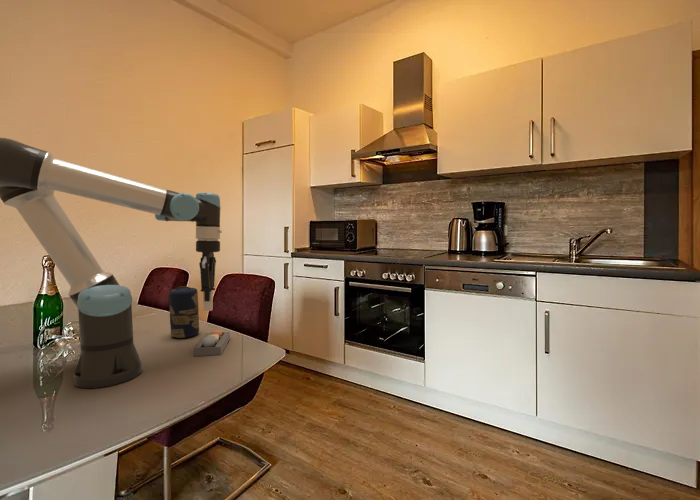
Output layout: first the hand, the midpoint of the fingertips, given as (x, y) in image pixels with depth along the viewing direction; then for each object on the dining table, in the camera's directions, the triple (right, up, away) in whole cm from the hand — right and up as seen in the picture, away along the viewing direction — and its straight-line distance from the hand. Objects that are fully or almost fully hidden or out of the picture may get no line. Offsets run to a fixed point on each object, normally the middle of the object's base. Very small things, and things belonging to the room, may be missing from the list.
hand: (208, 310), depth 123 cm
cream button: (+3, -10, -3) cm, 11 cm away
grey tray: (+3, -12, -3) cm, 12 cm away
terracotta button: (+2, -10, +2) cm, 10 cm away
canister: (-12, -11, +10) cm, 19 cm away
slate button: (+4, -10, -9) cm, 14 cm away
